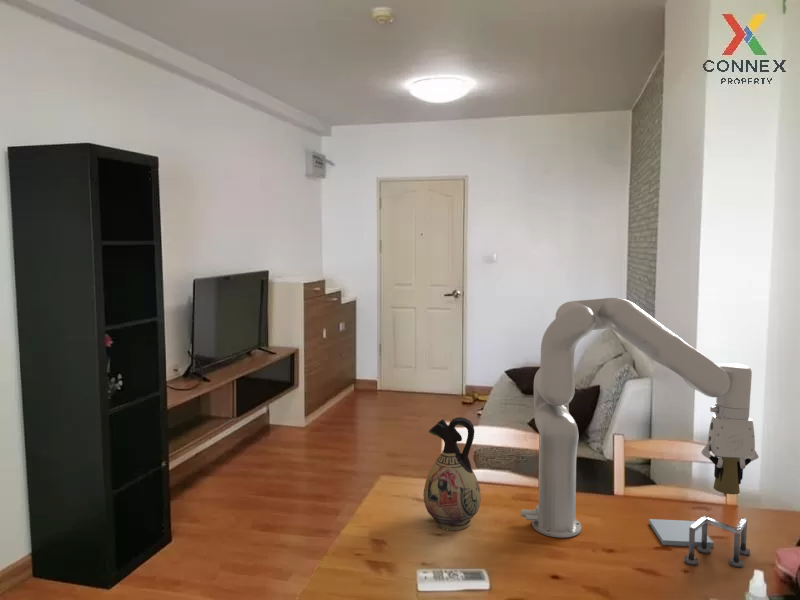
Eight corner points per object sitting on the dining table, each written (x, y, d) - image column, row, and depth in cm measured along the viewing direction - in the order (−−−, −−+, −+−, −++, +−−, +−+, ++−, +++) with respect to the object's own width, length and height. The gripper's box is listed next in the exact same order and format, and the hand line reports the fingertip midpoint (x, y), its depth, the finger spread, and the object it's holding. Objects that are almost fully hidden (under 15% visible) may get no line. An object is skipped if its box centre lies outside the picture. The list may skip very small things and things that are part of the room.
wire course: (686, 565, 141) (687, 529, 140) (674, 546, 149) (675, 512, 149) (764, 569, 138) (765, 532, 138) (746, 549, 147) (748, 515, 147)
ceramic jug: (415, 531, 159) (414, 420, 156) (434, 508, 173) (433, 405, 170) (478, 542, 152) (478, 426, 150) (492, 517, 166) (492, 411, 164)
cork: (743, 495, 152) (746, 453, 151) (717, 493, 154) (720, 451, 153) (735, 486, 158) (737, 445, 157) (710, 484, 160) (712, 443, 159)
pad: (662, 544, 150) (663, 540, 150) (649, 523, 162) (649, 519, 162) (713, 547, 149) (713, 542, 149) (695, 525, 161) (696, 521, 161)
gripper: (703, 414, 151) (699, 485, 153) (774, 417, 150) (769, 489, 151) (693, 406, 159) (689, 474, 160) (759, 409, 157) (755, 478, 158)
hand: (727, 480), depth 156 cm, fingers closed on cork, 3 cm apart
